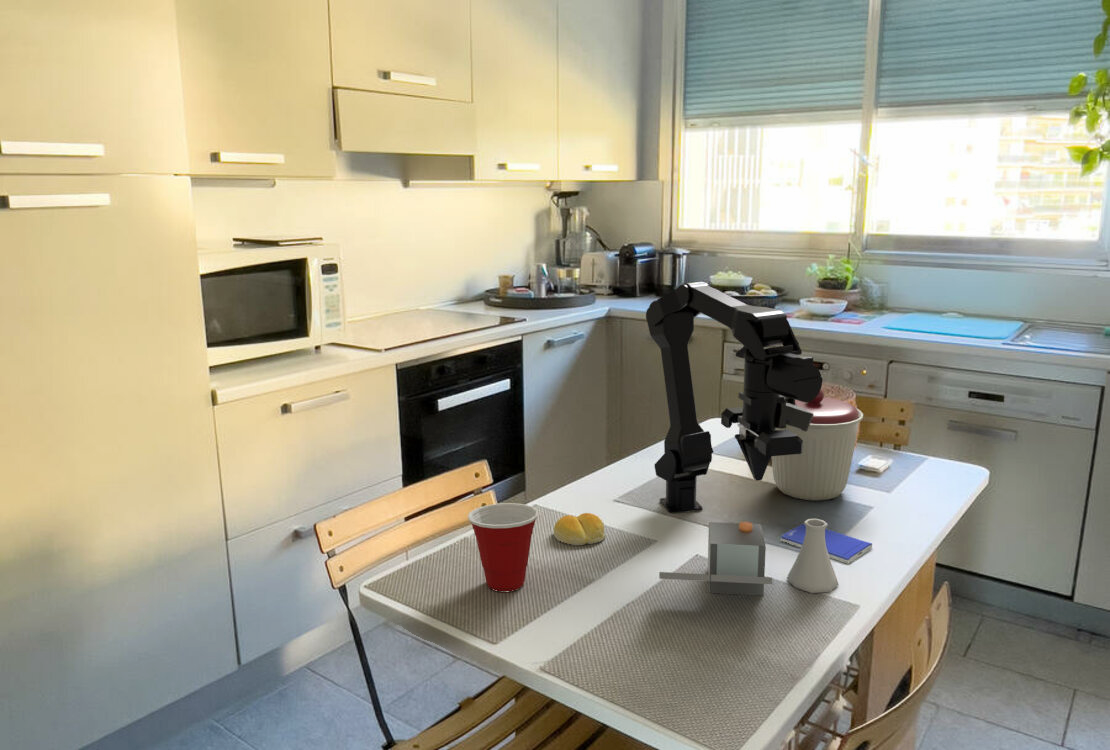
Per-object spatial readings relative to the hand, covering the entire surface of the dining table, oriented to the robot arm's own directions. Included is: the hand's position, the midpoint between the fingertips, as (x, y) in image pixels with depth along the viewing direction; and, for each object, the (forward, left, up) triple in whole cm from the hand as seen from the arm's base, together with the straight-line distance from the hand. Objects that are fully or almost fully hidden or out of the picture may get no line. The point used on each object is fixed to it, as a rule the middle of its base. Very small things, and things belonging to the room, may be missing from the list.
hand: (757, 479), depth 140 cm
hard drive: (+2, +12, -13) cm, 18 cm away
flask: (+14, +3, -12) cm, 19 cm away
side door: (+15, -14, -9) cm, 22 cm away
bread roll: (-12, -28, -12) cm, 32 cm away
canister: (-21, +21, -12) cm, 32 cm away
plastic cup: (+3, -43, -12) cm, 45 cm away
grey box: (+11, -8, -12) cm, 18 cm away
